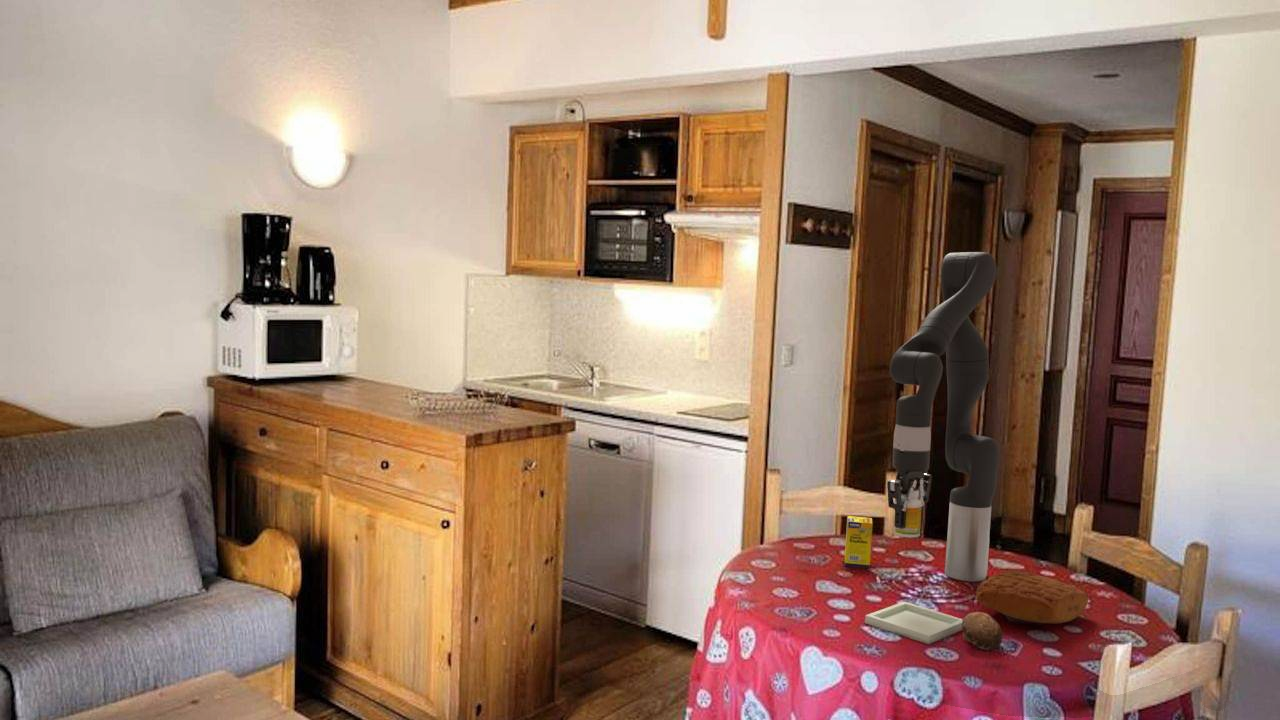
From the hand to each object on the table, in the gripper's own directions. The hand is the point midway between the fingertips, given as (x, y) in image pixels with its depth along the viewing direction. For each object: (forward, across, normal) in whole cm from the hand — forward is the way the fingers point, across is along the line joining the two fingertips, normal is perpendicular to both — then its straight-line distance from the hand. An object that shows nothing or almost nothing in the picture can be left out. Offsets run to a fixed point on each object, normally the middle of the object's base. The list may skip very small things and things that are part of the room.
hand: (907, 525), depth 207 cm
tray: (+16, +12, +10) cm, 22 cm away
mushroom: (+17, +11, +23) cm, 30 cm away
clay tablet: (+17, -12, +22) cm, 31 cm away
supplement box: (+17, -16, -22) cm, 32 cm away
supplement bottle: (+2, 0, 0) cm, 2 cm away
